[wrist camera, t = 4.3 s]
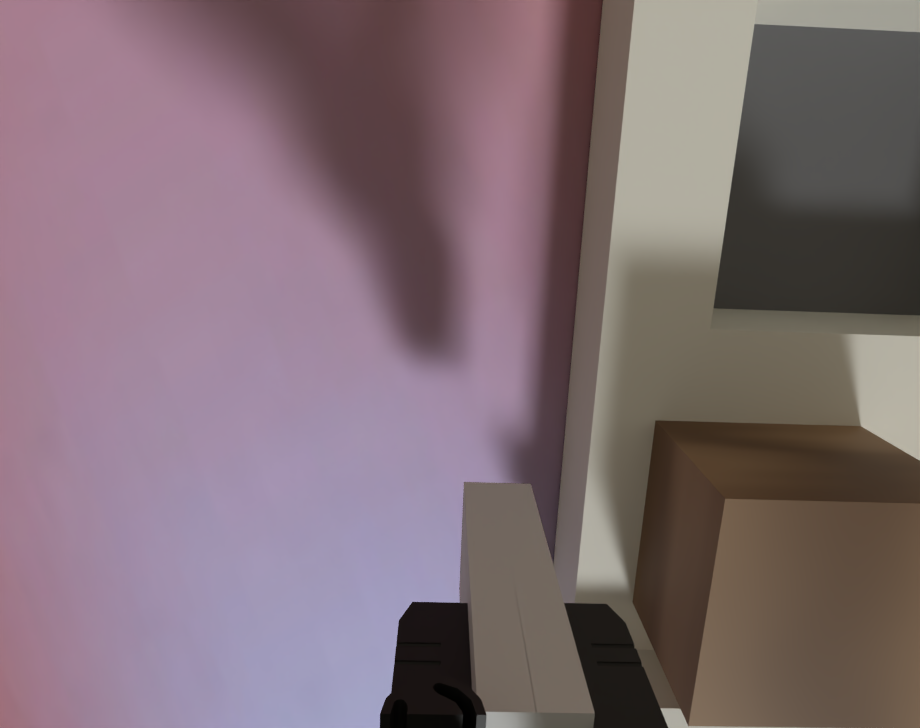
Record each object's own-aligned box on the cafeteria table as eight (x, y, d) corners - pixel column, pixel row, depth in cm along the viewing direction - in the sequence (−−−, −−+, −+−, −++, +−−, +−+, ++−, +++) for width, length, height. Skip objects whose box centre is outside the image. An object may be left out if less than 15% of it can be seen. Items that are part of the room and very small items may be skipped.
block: (632, 601, 17) (688, 726, 13) (655, 420, 16) (725, 499, 12) (822, 605, 17) (932, 729, 13) (861, 425, 16) (995, 505, 12)
